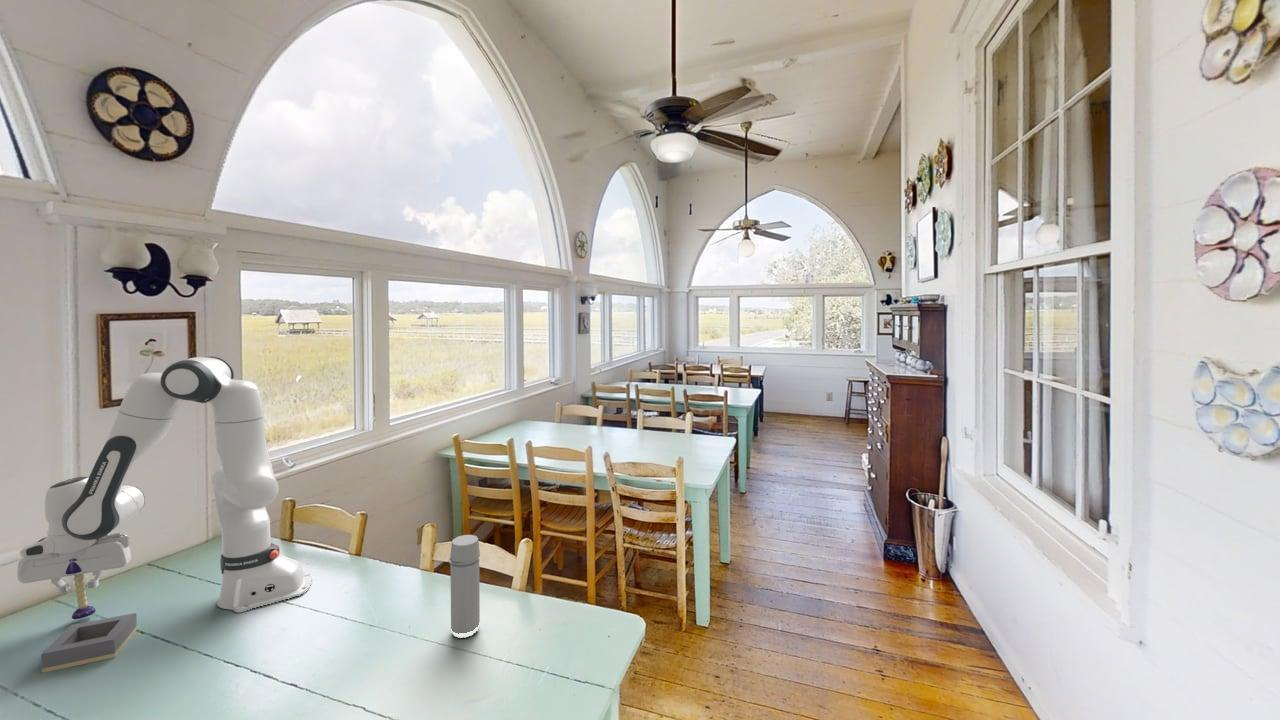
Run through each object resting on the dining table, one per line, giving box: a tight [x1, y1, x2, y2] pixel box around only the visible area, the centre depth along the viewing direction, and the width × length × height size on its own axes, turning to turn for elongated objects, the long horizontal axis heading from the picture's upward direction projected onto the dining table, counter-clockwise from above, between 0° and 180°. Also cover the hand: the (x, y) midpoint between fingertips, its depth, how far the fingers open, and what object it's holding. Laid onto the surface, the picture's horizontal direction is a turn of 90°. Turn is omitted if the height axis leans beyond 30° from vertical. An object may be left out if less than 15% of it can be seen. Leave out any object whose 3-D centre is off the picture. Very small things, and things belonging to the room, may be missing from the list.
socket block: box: [40, 612, 138, 673], centre depth 120 cm, size 12×12×4 cm
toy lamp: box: [66, 558, 96, 620], centre depth 131 cm, size 5×5×17 cm
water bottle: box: [447, 534, 481, 634], centre depth 130 cm, size 9×8×25 cm
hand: (79, 589), depth 131 cm, fingers closed on toy lamp, 4 cm apart
